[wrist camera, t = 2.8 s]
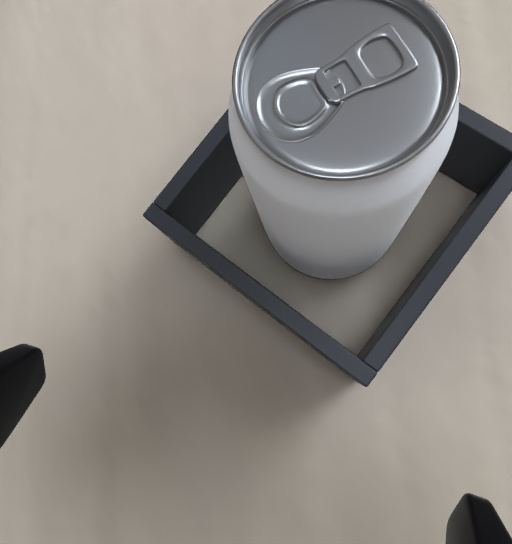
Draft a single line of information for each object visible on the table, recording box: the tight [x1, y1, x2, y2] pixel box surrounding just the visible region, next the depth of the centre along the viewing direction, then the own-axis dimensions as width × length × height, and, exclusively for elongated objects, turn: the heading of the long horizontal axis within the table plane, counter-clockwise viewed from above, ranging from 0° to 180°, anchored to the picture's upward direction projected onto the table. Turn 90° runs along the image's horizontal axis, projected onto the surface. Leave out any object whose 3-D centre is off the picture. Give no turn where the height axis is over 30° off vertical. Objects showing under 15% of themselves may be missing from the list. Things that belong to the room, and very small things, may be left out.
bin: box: [143, 103, 512, 387], centre depth 21 cm, size 11×11×4 cm
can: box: [228, 0, 460, 279], centre depth 18 cm, size 6×6×12 cm
